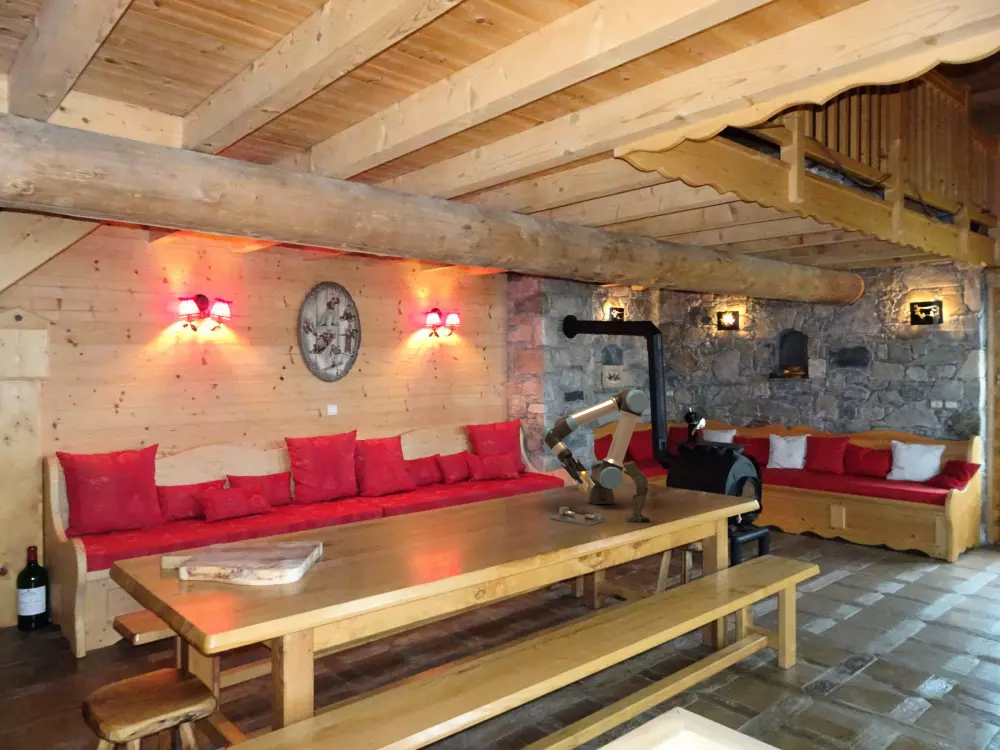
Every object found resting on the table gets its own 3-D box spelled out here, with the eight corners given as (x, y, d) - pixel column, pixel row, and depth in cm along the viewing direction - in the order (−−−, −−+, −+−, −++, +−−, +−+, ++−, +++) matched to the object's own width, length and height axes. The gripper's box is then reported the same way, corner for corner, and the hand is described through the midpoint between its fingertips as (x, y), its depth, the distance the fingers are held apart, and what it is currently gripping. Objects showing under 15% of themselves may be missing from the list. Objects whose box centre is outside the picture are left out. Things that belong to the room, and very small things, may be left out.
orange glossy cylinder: (583, 491, 363) (583, 470, 363) (590, 493, 359) (590, 471, 359) (576, 493, 360) (576, 471, 360) (584, 494, 356) (583, 472, 356)
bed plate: (549, 519, 346) (549, 509, 346) (566, 514, 357) (566, 505, 357) (589, 526, 331) (589, 516, 331) (605, 521, 342) (605, 511, 342)
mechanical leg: (656, 517, 345) (641, 457, 346) (657, 521, 338) (642, 459, 339) (628, 524, 347) (613, 464, 347) (629, 527, 339) (614, 466, 340)
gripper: (568, 455, 376) (595, 489, 366) (548, 459, 362) (575, 494, 352) (576, 446, 373) (604, 480, 362) (556, 449, 359) (584, 485, 349)
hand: (589, 487), depth 357 cm, fingers closed on orange glossy cylinder, 5 cm apart
